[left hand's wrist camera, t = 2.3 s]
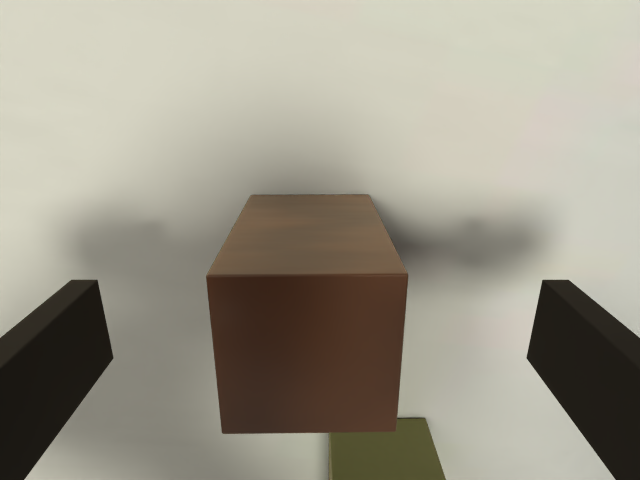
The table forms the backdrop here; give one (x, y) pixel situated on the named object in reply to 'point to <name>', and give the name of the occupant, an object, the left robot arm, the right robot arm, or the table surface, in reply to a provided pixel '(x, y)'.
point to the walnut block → (308, 317)
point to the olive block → (385, 454)
